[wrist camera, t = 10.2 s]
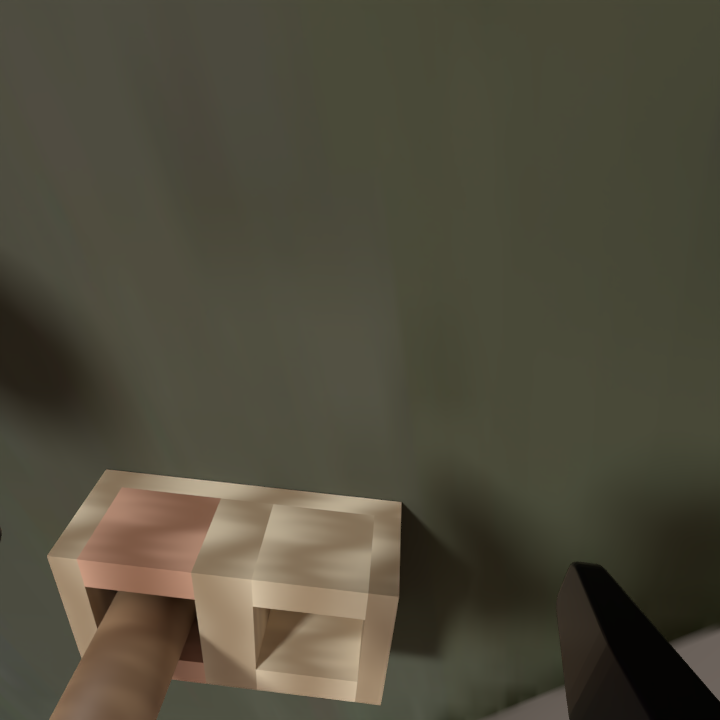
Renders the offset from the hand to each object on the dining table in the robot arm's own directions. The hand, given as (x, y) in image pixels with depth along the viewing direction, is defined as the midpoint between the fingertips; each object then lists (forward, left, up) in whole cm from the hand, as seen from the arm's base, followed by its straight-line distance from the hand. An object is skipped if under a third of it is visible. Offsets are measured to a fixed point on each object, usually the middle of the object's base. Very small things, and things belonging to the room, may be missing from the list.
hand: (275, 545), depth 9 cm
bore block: (+4, +16, -13) cm, 21 cm away
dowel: (+7, +16, -12) cm, 21 cm away
